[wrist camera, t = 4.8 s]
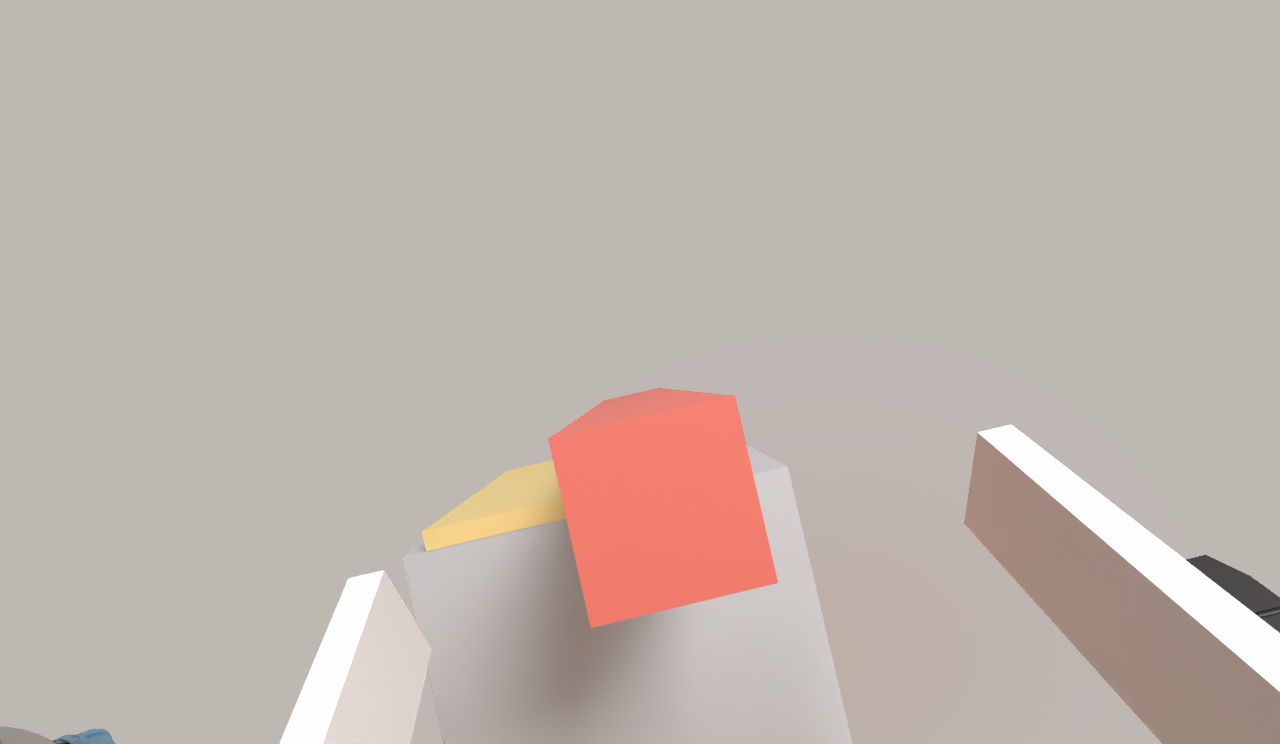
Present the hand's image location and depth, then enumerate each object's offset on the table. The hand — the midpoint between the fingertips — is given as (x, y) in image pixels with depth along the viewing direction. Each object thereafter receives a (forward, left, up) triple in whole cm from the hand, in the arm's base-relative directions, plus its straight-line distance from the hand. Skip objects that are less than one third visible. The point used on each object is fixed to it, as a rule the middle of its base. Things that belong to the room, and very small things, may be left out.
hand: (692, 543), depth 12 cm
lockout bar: (-10, +9, -1) cm, 13 cm away
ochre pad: (-18, +8, -1) cm, 19 cm away
